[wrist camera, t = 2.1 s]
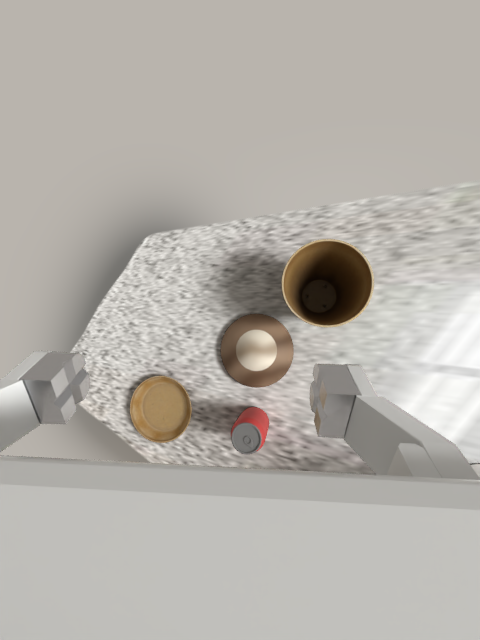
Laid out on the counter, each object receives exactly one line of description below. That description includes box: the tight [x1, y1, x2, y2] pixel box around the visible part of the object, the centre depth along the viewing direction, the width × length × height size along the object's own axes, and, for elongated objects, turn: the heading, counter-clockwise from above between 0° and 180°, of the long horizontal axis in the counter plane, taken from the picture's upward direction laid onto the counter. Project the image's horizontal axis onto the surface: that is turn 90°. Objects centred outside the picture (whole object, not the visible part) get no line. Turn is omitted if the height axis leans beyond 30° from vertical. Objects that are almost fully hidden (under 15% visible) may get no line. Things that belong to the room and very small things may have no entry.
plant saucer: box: [130, 376, 192, 443], centre depth 68 cm, size 15×15×3 cm
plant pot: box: [282, 239, 374, 327], centre depth 57 cm, size 15×15×16 cm
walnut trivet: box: [221, 314, 293, 387], centre depth 65 cm, size 16×16×2 cm
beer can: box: [231, 407, 269, 454], centre depth 59 cm, size 7×7×12 cm
